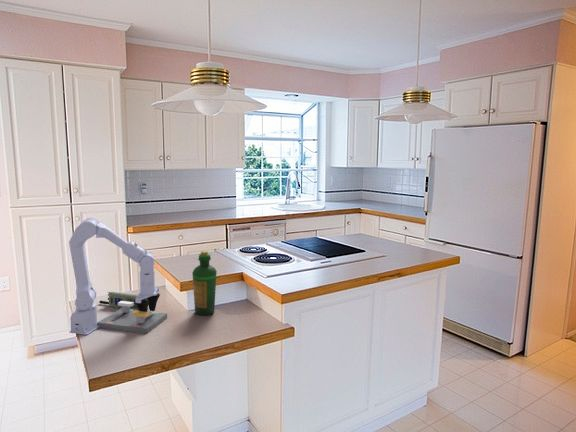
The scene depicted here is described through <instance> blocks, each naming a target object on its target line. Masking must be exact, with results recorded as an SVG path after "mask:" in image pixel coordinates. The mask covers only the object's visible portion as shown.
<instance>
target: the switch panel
mask: <svg viewBox="0 0 576 432" xmlns="http://www.w3.org/2000/svg"><path fill="white" fill-rule="evenodd" d="M134 311H139V310H133V309H130V312H128V313H123V312H122V308H118V309H117V310H116V311H114V312H112V313H110V314H109V315H107V316H105V317H104V318H103V319H100V321H97V326H100V327H99V328H100V329H108V330H117V331H125V332H133V333H138V334H148V333H149V332H151V331H152V330H153V329H155V328H156V327H157V326H159V325H160V324H161V323H162V322H164V321H165V320H167V319H168V313H166V312H159V311H158V312H157V311H150V310H147V312H149V315H148V316H147V317H145V322H144V323H142V324H140V323H137V318H136V316H132V313H133V312H134Z"/></svg>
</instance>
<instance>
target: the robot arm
mask: <svg viewBox="0 0 576 432" xmlns="http://www.w3.org/2000/svg"><path fill="white" fill-rule="evenodd" d="M95 235H96V236H95ZM94 236H95V238H96V239H97V238H102V239H103V238H104V239H106V240H107V241H109V242H111V243H112V244H114V245H115V246H117V247H118V248H121V250H122V251H121V252H122V254H123V255H125V256H126V257H128V258H129V259H130V260H132V261H133V262H135V263H138V267H139V270H140V271H139V291H140V292H139V294H138V296H137V298H135V304H136V305H137V307H138V309H139V311H143V312H147V311H151V312H156V307H157V303H158V301H159V298H160V297H161V294H160V293H159V292H160V291H159V290H160V287H158V286H155V283H156V282H155V256H154V255H153V253H152V252H151V251H150V252H149V251H148V250H147V249H144V248H142V247H141V246H139V243H137V242H133V241H126V240H125V239H124V238H122V236H120V235H119V234H118V233H116V232H115V231H113V229H111V228H109V227H108V226H107V225H105V224H104V223H102V222H101V221H100V222H99V221H98V220H97V219H95V218H93V217H89V218H86V219H84V220H83V221H82V222H81V223H80V224H79V225H78V226H76V227H75V230H74V232H73V233H72V235H71V237H70V239H69V241H68V242H69V243H68V245H69V249H70V256H71V261H72V267H73V272H74V278H75V279H74V280H75V284H76V291H75V295H76V298H75V301H74V305H75V311H73V313H71V316H70V321H69V322H70V330H69V331H68V332H69V333H70V334H75V335H76V334H78V335H85V336H87V335H89V334H90V333H92V332H94V331H95V330H97V329H98V328H100V326H97V322H98V311H97V310H98V309H97V308H98V307H97V303H96V302H95V299H96V298H97V291H96V290H95V289H94V287H93V284H92V282H91V278H90V271H89V266H88V261H87V260H88V259H87V255H86V249H85V248H86V247H85V243H86V242H87V241H88V240H89V239H91V238H93V237H94ZM146 298H147V299H148V301H146V300H145V299H146ZM147 309H148V310H147Z"/></svg>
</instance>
